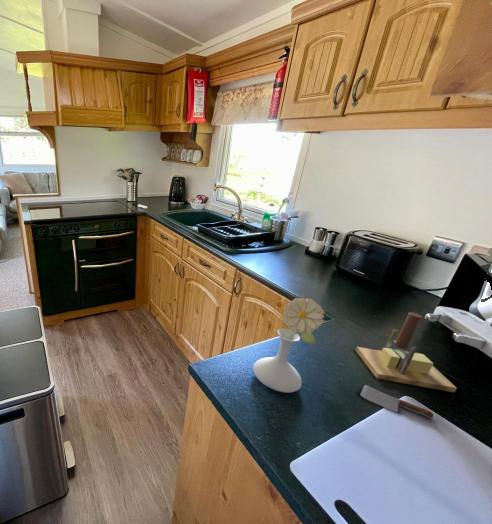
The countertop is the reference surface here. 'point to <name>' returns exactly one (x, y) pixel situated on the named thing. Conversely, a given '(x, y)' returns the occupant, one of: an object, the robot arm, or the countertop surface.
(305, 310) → the flower in vase
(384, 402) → the cleaver
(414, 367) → the butter block
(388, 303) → the countertop surface
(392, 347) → the knife
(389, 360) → the butter slice
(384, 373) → the butter board
